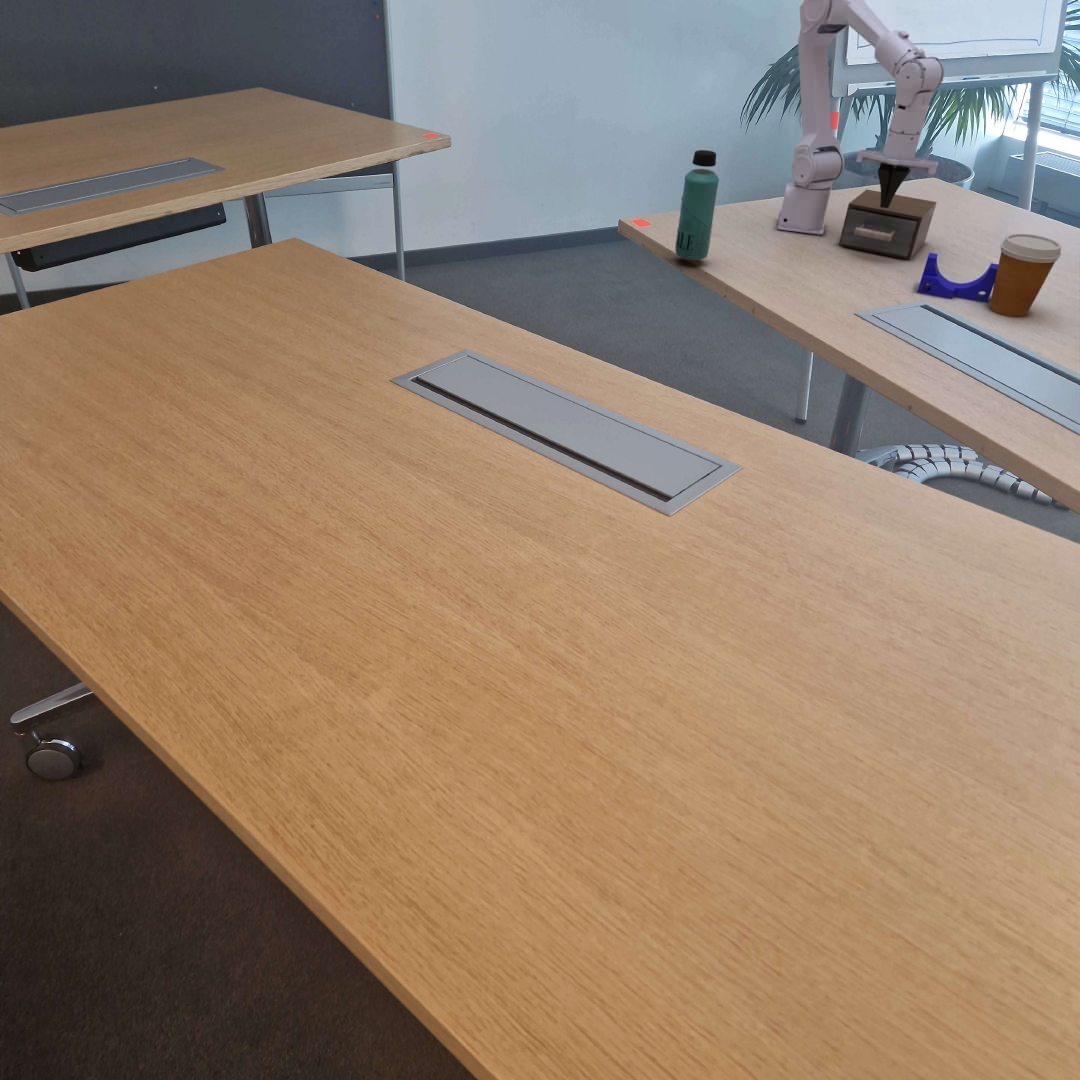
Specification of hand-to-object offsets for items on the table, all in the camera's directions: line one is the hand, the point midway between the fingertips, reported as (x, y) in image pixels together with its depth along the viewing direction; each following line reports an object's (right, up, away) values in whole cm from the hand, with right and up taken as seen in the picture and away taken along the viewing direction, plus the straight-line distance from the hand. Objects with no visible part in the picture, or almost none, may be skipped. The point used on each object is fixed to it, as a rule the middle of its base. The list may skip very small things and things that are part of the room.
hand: (884, 206), depth 171 cm
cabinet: (+4, -4, +11) cm, 12 cm away
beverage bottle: (-39, -12, -3) cm, 40 cm away
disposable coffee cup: (+15, -25, -16) cm, 33 cm away
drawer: (+2, -5, +8) cm, 9 cm away
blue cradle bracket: (+8, -21, -11) cm, 25 cm away
